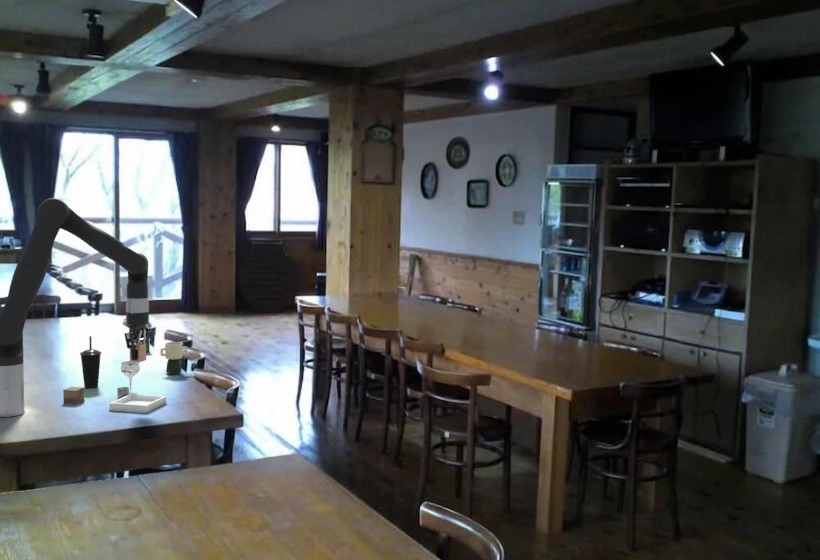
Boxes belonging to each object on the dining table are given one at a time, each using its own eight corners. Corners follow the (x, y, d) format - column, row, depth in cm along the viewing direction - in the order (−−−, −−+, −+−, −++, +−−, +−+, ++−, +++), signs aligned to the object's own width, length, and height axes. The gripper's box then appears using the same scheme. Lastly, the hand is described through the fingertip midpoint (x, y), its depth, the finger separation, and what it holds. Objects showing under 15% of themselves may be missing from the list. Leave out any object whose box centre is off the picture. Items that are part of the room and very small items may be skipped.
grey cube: (125, 400, 290) (125, 389, 290) (115, 399, 291) (115, 389, 290) (131, 397, 294) (131, 387, 294) (121, 397, 295) (121, 386, 294)
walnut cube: (76, 404, 283) (76, 390, 283) (63, 403, 284) (63, 389, 284) (84, 401, 288) (84, 387, 288) (71, 400, 289) (71, 386, 288)
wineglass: (134, 396, 295) (133, 365, 294) (117, 395, 297) (117, 363, 296) (143, 392, 302) (143, 361, 301) (127, 391, 303) (127, 360, 302)
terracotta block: (140, 362, 278) (140, 345, 277) (129, 361, 279) (129, 344, 278) (146, 359, 282) (146, 343, 281) (135, 359, 283) (135, 342, 282)
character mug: (185, 371, 342) (185, 341, 341) (188, 374, 336) (188, 343, 335) (158, 372, 337) (158, 342, 336) (162, 376, 331) (162, 345, 330)
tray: (146, 412, 274) (146, 405, 273) (109, 410, 276) (109, 403, 276) (166, 403, 287) (166, 396, 287) (130, 400, 290) (130, 393, 289)
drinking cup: (80, 385, 311) (80, 335, 309) (101, 384, 314) (101, 334, 312) (80, 390, 304) (79, 338, 302) (101, 388, 307) (100, 337, 305)
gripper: (137, 307, 286) (138, 354, 288) (116, 312, 272) (117, 362, 274) (157, 308, 285) (157, 355, 286) (137, 313, 271) (137, 363, 273)
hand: (137, 358), depth 280 cm, fingers closed on terracotta block, 4 cm apart
